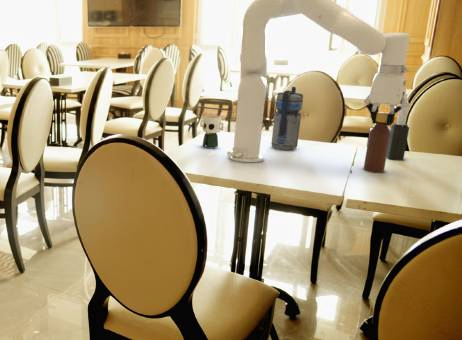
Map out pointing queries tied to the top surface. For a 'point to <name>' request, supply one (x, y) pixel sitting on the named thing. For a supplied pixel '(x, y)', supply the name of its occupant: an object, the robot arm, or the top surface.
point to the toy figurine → (211, 130)
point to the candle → (398, 136)
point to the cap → (382, 116)
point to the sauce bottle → (377, 148)
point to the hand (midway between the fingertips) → (382, 123)
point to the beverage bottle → (287, 120)
